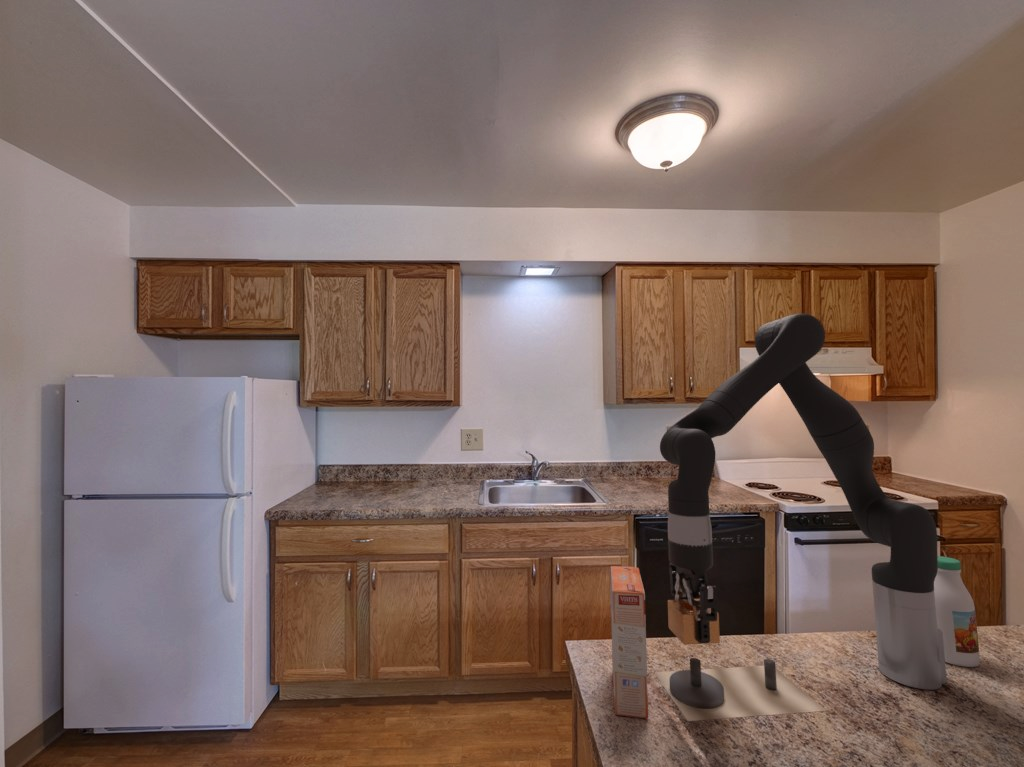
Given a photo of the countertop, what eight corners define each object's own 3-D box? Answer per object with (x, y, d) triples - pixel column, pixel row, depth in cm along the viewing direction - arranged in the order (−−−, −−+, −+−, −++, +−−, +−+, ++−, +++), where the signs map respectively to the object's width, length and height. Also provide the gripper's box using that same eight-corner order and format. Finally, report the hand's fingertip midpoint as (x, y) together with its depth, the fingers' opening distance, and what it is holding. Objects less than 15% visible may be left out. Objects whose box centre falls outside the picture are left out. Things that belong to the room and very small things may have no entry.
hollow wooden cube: (701, 626, 85) (700, 598, 85) (719, 643, 79) (718, 613, 79) (668, 627, 85) (667, 600, 85) (684, 644, 78) (683, 614, 79)
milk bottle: (938, 664, 91) (930, 562, 93) (921, 646, 99) (913, 551, 100) (989, 671, 89) (979, 566, 90) (967, 652, 96) (959, 555, 97)
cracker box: (650, 721, 76) (646, 592, 78) (614, 716, 77) (610, 590, 79) (643, 674, 90) (639, 565, 91) (612, 671, 91) (609, 564, 92)
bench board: (772, 672, 89) (770, 636, 90) (827, 720, 75) (824, 676, 76) (654, 680, 87) (652, 643, 88) (688, 730, 73) (686, 685, 74)
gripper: (731, 548, 76) (736, 652, 75) (691, 527, 90) (694, 614, 89) (688, 550, 76) (692, 654, 74) (654, 529, 90) (657, 616, 89)
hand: (693, 632), depth 82 cm, fingers closed on hollow wooden cube, 6 cm apart
